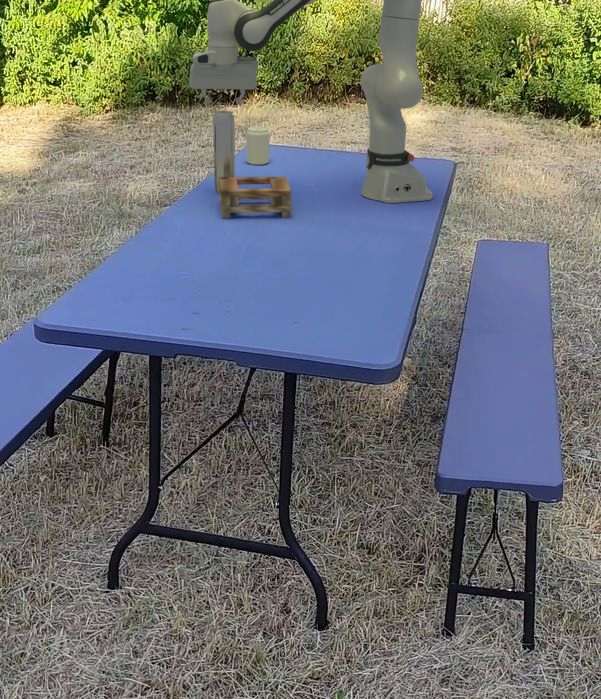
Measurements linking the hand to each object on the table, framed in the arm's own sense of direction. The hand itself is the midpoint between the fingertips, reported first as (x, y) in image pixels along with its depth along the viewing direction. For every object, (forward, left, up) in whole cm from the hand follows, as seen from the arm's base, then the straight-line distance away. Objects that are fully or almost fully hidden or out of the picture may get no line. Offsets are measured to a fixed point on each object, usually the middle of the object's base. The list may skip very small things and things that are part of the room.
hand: (223, 104), depth 258 cm
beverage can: (-13, -36, -27) cm, 47 cm away
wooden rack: (-8, +19, -27) cm, 34 cm away
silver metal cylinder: (0, 0, -27) cm, 27 cm away
